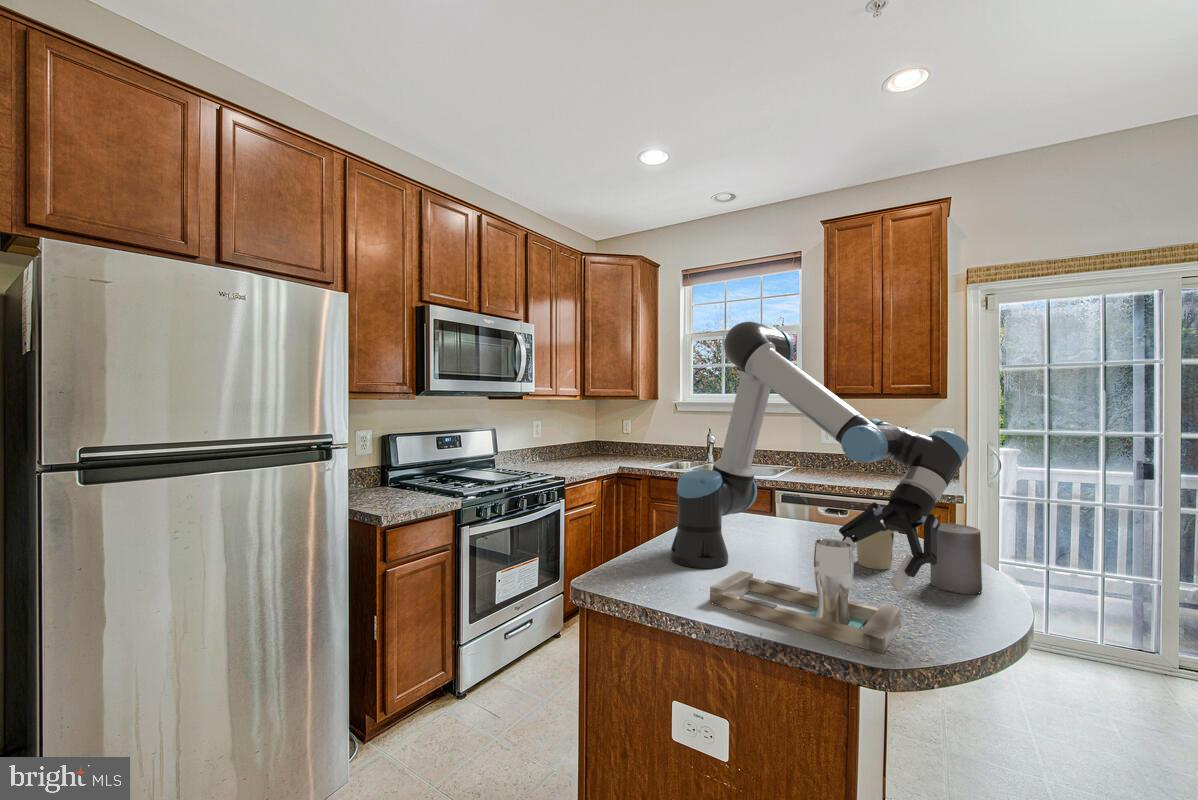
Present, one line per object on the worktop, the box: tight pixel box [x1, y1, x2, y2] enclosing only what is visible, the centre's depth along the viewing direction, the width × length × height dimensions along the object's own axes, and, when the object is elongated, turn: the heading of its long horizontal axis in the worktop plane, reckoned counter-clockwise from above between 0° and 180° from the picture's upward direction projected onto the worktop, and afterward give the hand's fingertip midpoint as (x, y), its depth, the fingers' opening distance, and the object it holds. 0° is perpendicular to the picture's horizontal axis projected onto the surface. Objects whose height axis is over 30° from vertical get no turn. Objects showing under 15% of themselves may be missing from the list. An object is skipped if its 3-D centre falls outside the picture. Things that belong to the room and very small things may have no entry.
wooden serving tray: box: [709, 570, 902, 655], centre depth 99 cm, size 32×14×4 cm, turn 49°
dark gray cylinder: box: [929, 521, 983, 595], centre depth 116 cm, size 10×10×15 cm
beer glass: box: [812, 538, 855, 626], centre depth 95 cm, size 7×7×15 cm
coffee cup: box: [855, 520, 895, 570], centre depth 132 cm, size 9×9×12 cm
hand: (863, 576), depth 98 cm, fingers open, 13 cm apart
